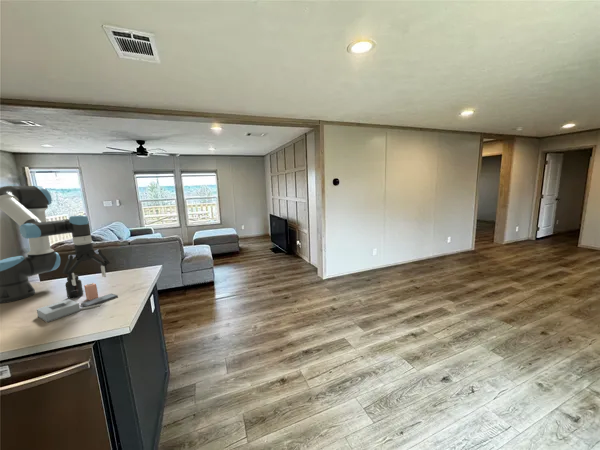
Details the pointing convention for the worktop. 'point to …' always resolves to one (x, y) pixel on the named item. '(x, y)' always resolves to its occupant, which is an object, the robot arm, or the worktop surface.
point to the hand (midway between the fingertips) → (89, 280)
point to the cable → (90, 307)
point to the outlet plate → (58, 310)
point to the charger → (91, 291)
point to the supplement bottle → (74, 288)
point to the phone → (99, 300)
